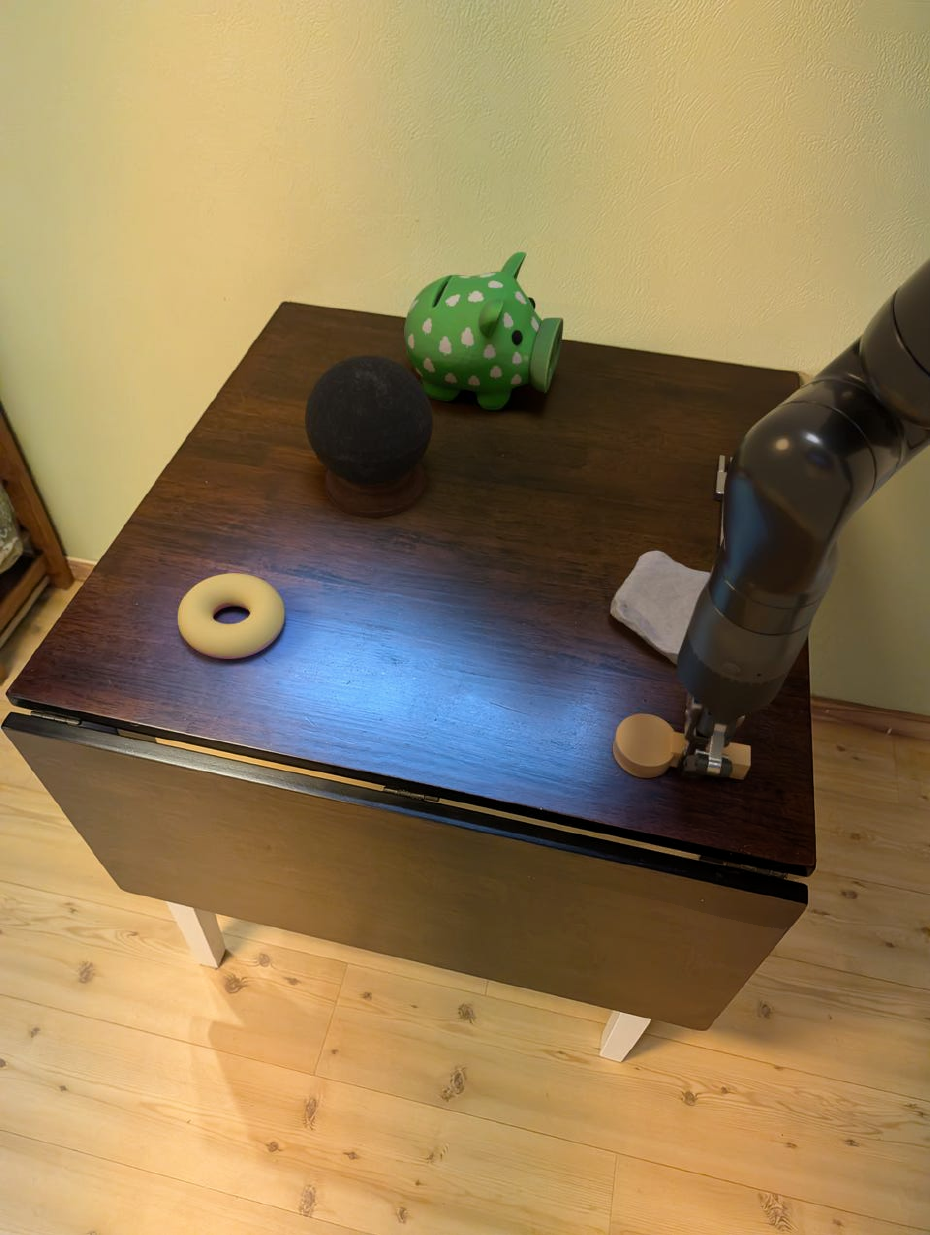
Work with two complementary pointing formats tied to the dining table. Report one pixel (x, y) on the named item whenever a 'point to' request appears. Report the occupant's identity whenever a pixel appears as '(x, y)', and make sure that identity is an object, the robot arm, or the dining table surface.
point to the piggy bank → (481, 337)
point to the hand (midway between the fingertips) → (689, 759)
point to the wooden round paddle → (662, 748)
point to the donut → (231, 637)
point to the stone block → (659, 601)
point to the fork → (720, 492)
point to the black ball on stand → (370, 435)
